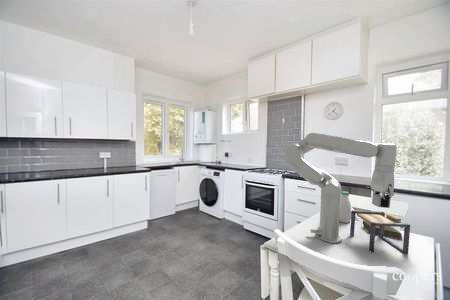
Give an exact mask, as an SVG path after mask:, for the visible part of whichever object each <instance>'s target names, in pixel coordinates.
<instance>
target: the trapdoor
mask: <svg viewBox="0 0 450 300" xmlns="http://www.w3.org/2000/svg"><path fill="white" fill-rule="evenodd" d="M385 215H386V216H385V217H384V216H382V215H377V214H356V216H357V217H359V218H360V219H362V221H367V222H368V223H370V224H371V222H384V223H402V218H400V217H399V216H398V217H397V216H396V215H394V214H391V213H386V214H385Z"/></svg>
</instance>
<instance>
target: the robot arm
mask: <svg viewBox="0 0 450 300" xmlns="http://www.w3.org/2000/svg"><path fill="white" fill-rule="evenodd" d="M397 148H398V147H397V145H396V144H394V143H374V142H371V141H365V140H360V139H359V140H357V139H353V138H347V137H346V138H345V137H343V136H342V137H341V136H338V135H330V134H324V133H318V132H310V133H307V135H306V136H305V137H304V138H303V139H302V138H301V140H299V141H297V142H293V143H289V144H288V145H287V147H286V148H285V150H284V158H285V161H286V164H287V165H288V166H289V167H290V168H291V169H292V170H293V171H295V172H296V173H297V174H298V175H299V176H301V177H302V178H303V179H304V180H305V181H306V182H308V183H309V184H310V185H313V186H317V187H318V188H320V208H319V209H320V212H319V226H317V228H315V229H314V228H310V233H312V234H314V235H315V237H317V239H319V240H321V241H323V242H326V243H330V244H340V243H342V241H343V238H342V237H341V236H340V221H339V220H340V202H341V192H342V185H341V183H340V182H339V181H338V180H337V179H335V178H334V177H333V176H332V175H331V174H330V173H328V172H327V171H325V170H324V169H322V168H320V167H318V166H317V167H316V166H313V165H312V164H310V163H309V162H308V161H307V160H305V159H304V158H303V157H302V156H303V155H305V154H306V153H307V154H308V153H309V152H311V151H313V150H314V149H317V150H324V151H328V152H332V153H333V152H334V153H337V154H338V153H339V154H347V155H351V156H357V157H362V158H368V159H369V158H374V157H375V161H374V169H373V173H372V175H371V181H370V189H372V190H371V191H372V195H373V194H378V195H382V198H383V199H381V207H380V208H383V207H386V208H385V209H389V208H388V206H389V200H390V198H392V197H394V196H395V192H394V189H395V168H396V167H395V166H396V159H397V158H396V157H397ZM390 201H391V200H390Z"/></svg>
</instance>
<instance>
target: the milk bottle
mask: <svg viewBox="0 0 450 300" xmlns="http://www.w3.org/2000/svg"><path fill="white" fill-rule="evenodd" d="M349 196H350V193H349V191H346V190H345V191H343V190H341V202H340V220H339V223H344V224H349V223H351V211H352V204H351V201H350V198H349Z"/></svg>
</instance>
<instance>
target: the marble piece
mask: <svg viewBox="0 0 450 300" xmlns="http://www.w3.org/2000/svg"><path fill="white" fill-rule="evenodd" d="M362 225H363V229H365V230H366V231H367V232H368V233H370V227H371V224H370V223H368V222H367V221H365V220H362ZM376 235H377V236H379V226H376V228H375V236H376ZM383 236H384V237H386V238H391V237H392V238H391V239H395V238H397V239H396V240H402V239H403V235H402V232H401V231H399V230H398V229H396V228H394V226H384V233H383Z"/></svg>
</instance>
